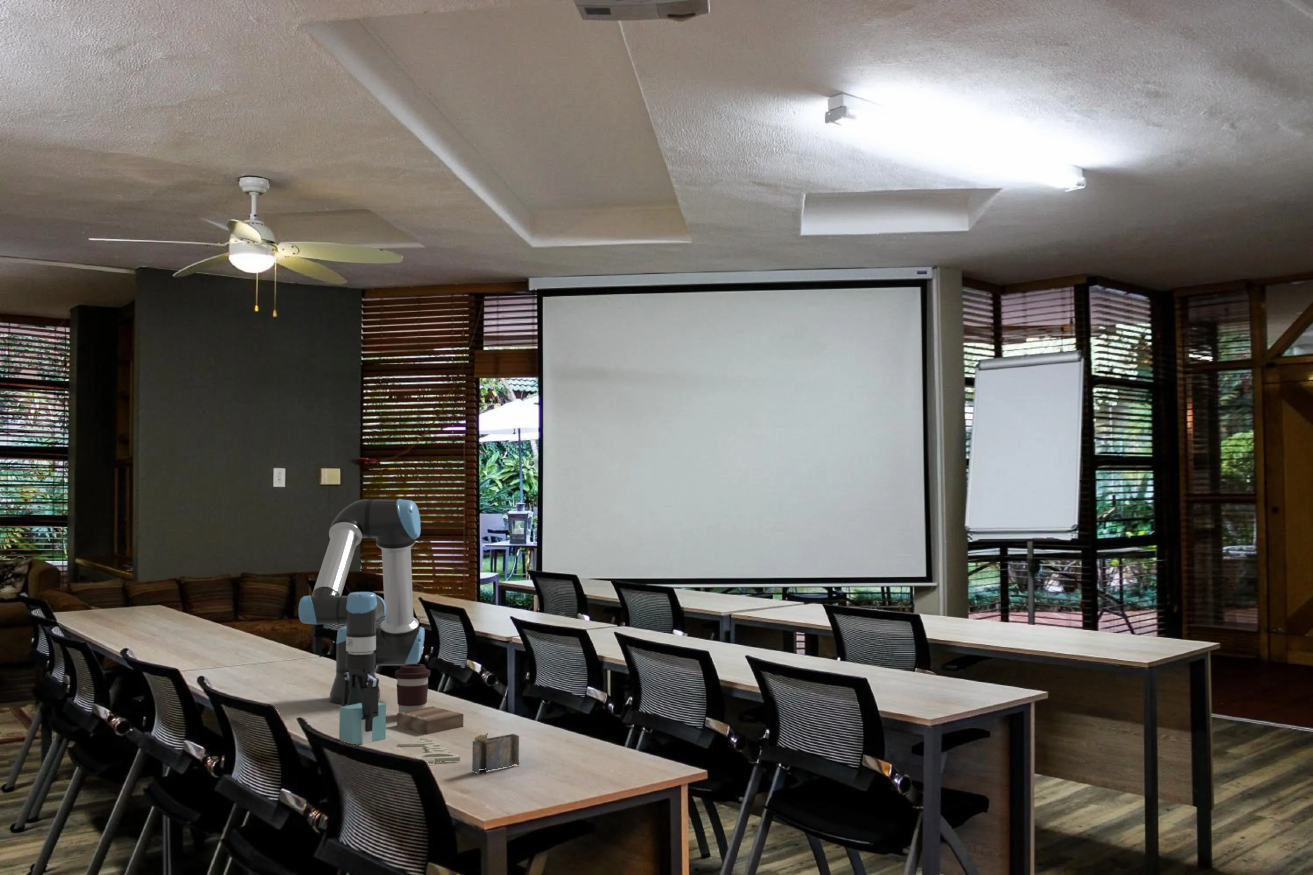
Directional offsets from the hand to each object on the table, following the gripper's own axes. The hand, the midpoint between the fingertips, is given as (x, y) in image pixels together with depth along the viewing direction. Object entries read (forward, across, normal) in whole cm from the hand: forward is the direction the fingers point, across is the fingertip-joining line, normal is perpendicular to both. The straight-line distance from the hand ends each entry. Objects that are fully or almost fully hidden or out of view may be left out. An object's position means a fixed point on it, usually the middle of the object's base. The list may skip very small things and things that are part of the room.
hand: (359, 741), depth 273 cm
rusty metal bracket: (+1, +45, +8) cm, 46 cm away
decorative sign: (+1, +21, +6) cm, 22 cm away
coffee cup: (+1, -14, +26) cm, 30 cm away
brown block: (0, 0, +22) cm, 23 cm away
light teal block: (0, 0, +1) cm, 1 cm away
